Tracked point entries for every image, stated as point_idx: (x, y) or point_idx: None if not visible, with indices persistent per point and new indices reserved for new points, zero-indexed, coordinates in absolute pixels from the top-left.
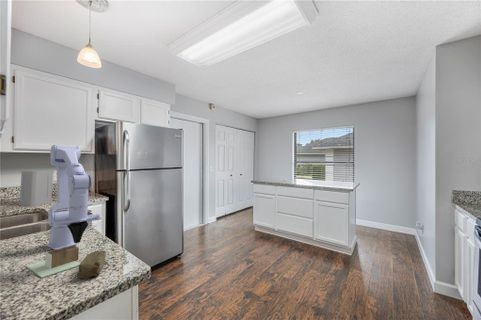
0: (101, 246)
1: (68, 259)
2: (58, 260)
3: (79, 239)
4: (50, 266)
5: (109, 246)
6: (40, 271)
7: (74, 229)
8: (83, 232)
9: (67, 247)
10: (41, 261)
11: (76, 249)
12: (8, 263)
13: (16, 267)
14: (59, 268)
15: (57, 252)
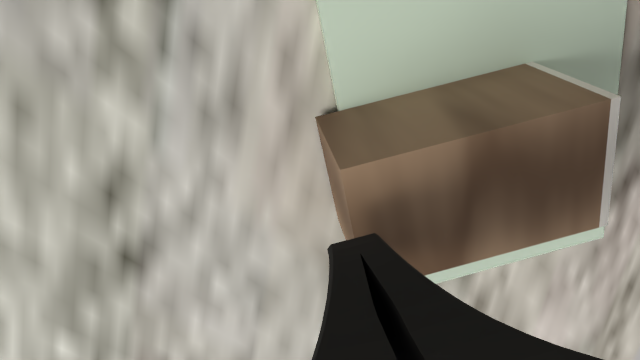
0: (83, 351)
1: (409, 105)
2: (502, 90)
3: (351, 258)
4: (542, 65)
5: (5, 317)
6: (594, 49)
7: (554, 352)
8: (319, 340)
9: (428, 250)
10: (521, 257)
11: (362, 156)
12: (628, 340)
13: (630, 255)
14: (485, 4)
15: (546, 149)
